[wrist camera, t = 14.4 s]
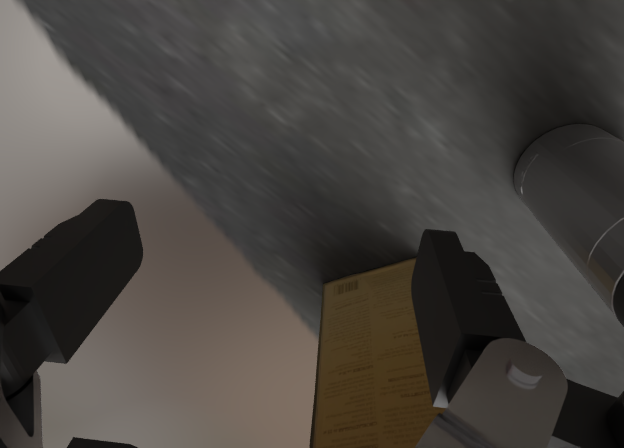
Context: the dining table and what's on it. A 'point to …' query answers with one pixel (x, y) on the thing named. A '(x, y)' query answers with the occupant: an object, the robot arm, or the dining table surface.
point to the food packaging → (370, 364)
